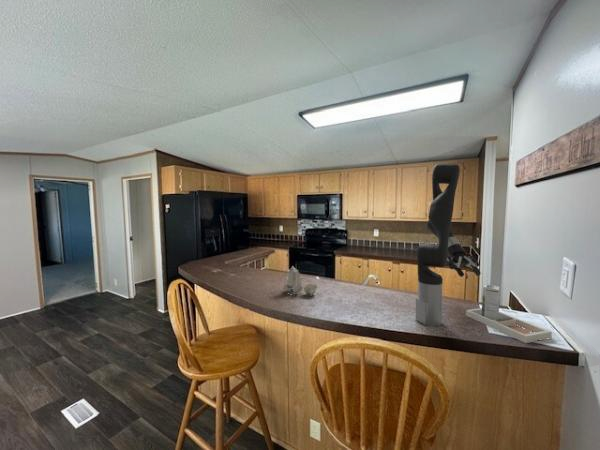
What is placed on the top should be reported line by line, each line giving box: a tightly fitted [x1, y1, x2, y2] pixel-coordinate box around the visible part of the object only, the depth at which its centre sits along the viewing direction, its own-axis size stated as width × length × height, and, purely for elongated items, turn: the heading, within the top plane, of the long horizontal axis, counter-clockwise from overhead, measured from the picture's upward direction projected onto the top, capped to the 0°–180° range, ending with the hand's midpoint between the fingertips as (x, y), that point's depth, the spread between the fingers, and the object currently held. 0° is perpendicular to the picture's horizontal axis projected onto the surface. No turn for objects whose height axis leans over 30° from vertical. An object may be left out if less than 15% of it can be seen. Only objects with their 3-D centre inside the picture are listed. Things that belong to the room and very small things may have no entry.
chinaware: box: [283, 265, 318, 297], centre depth 150 cm, size 28×17×17 cm, turn 34°
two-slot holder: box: [465, 307, 553, 344], centre depth 103 cm, size 12×24×3 cm, turn 13°
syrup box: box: [481, 284, 501, 320], centre depth 109 cm, size 6×6×14 cm
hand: (470, 275), depth 118 cm, fingers open, 8 cm apart
